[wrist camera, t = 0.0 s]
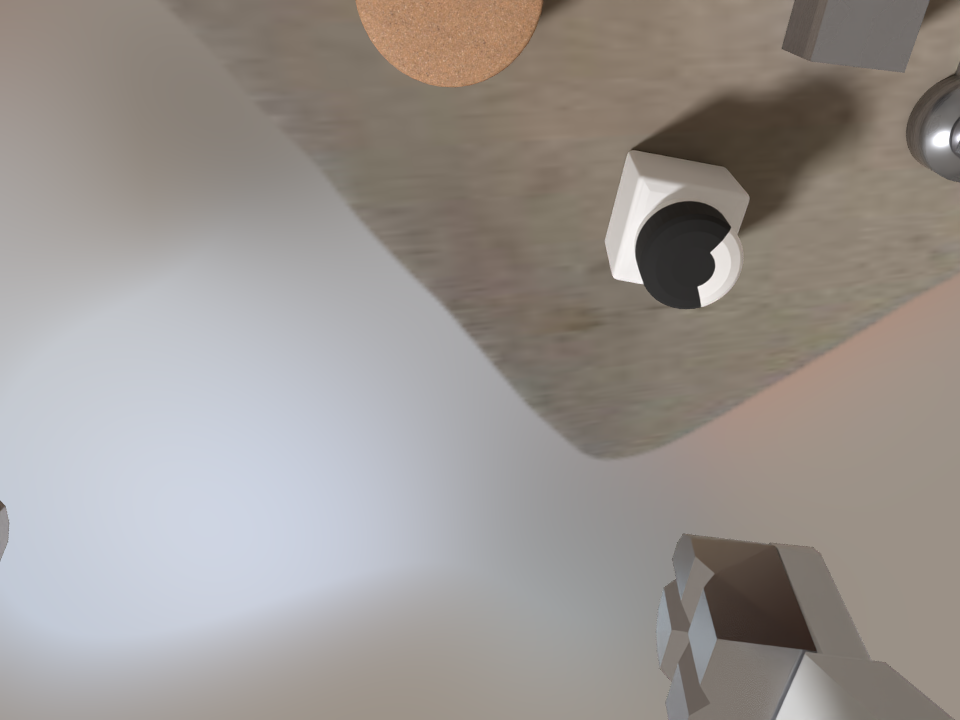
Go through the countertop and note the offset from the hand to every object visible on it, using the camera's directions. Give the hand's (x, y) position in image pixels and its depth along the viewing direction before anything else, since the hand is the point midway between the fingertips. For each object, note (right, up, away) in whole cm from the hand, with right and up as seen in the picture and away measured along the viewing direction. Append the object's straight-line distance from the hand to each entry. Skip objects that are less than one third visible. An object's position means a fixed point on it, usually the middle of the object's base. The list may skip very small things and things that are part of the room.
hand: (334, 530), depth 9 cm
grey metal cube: (+24, +24, +40) cm, 53 cm away
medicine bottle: (+15, +13, +47) cm, 51 cm away
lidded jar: (0, +27, +41) cm, 48 cm away
